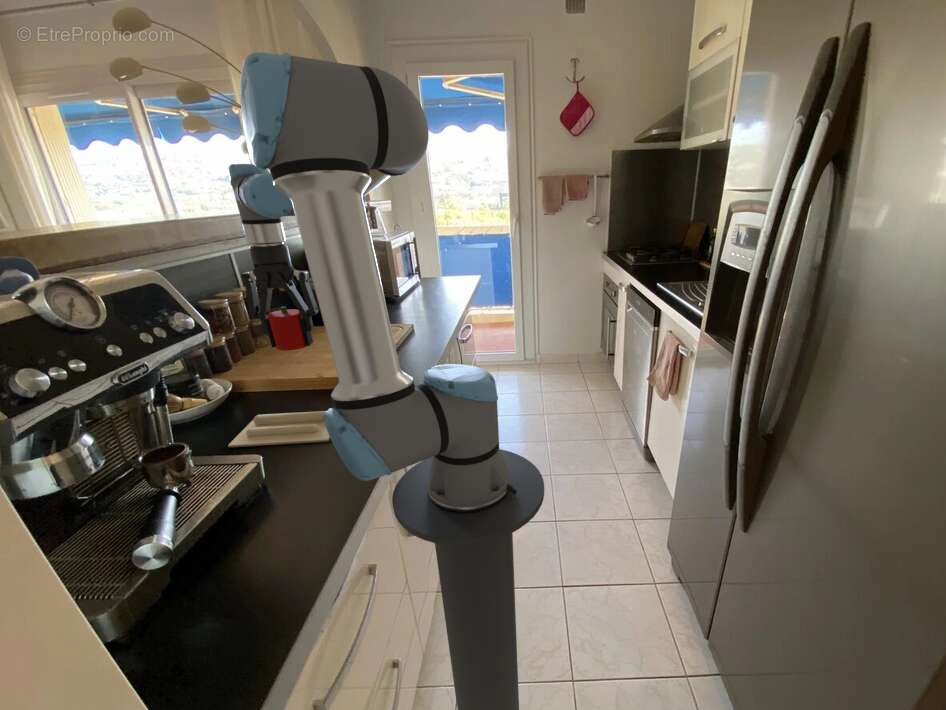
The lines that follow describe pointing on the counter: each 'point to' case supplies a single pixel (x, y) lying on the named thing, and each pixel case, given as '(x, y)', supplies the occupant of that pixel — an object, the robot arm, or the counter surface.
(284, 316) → the pepper
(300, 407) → the counter surface
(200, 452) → the counter surface
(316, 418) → the cream ridged board
